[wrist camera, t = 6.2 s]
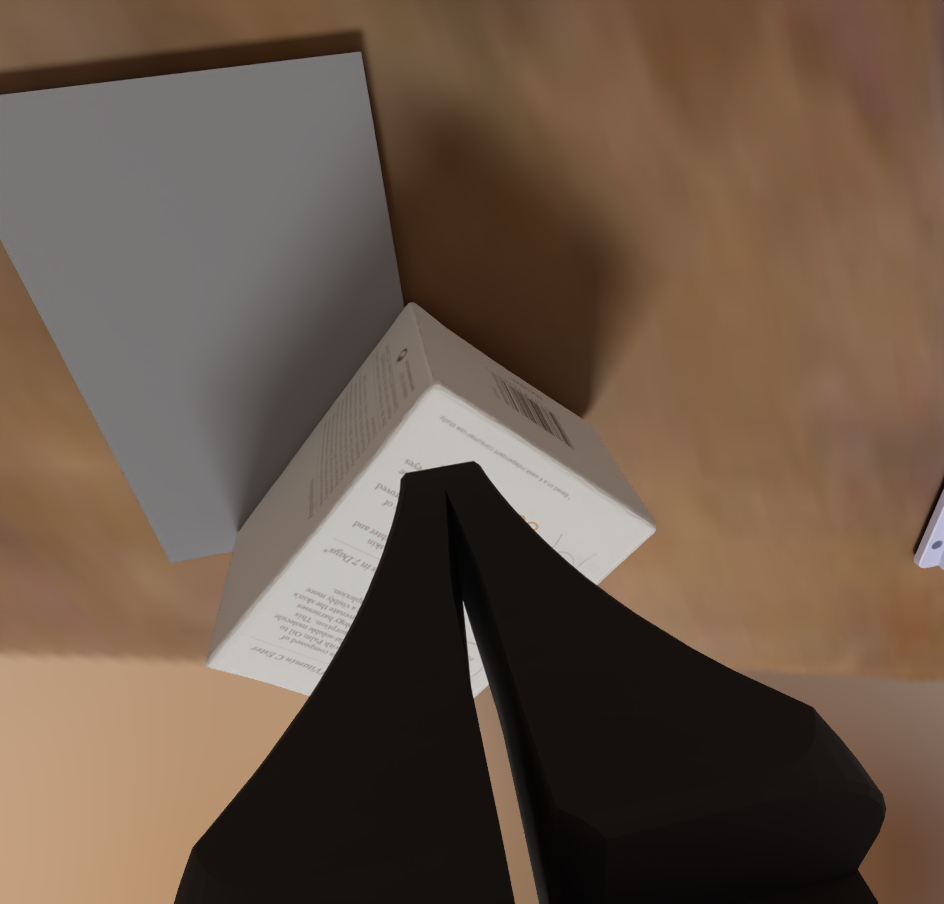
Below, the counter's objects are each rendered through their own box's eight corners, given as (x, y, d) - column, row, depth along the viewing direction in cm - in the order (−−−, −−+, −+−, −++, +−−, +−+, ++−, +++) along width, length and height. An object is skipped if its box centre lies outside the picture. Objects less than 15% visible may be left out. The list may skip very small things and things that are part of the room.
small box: (412, 292, 17) (227, 533, 21) (435, 378, 13) (194, 669, 16) (596, 427, 21) (413, 613, 25) (666, 532, 16) (430, 742, 20)
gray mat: (437, 506, 22) (439, 512, 22) (173, 555, 21) (170, 562, 21) (360, 51, 14) (360, 51, 14) (-62, 102, 14) (-72, 103, 13)
